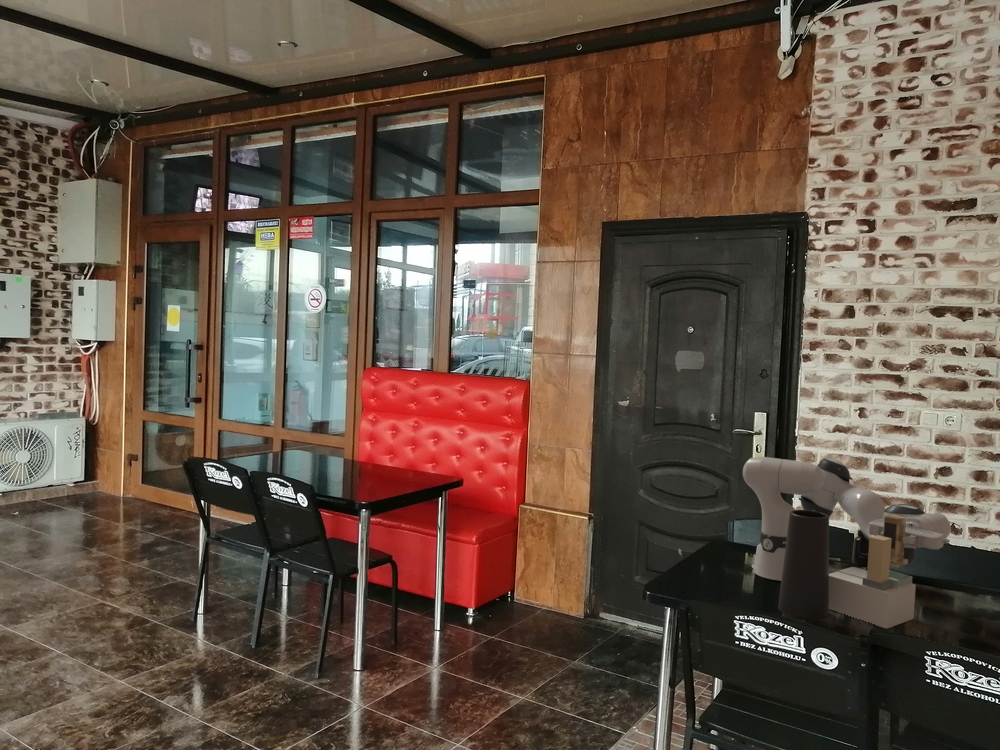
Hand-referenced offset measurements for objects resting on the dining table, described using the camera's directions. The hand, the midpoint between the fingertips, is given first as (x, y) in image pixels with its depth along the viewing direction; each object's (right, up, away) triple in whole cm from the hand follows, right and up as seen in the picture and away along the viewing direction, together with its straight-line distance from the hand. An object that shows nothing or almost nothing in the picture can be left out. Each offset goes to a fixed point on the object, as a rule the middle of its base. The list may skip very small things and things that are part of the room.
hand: (892, 538), depth 231 cm
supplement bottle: (+17, -21, +56) cm, 62 cm away
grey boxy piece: (-5, -23, +4) cm, 24 cm away
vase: (-25, -22, +3) cm, 33 cm away
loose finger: (0, -7, +1) cm, 8 cm away
